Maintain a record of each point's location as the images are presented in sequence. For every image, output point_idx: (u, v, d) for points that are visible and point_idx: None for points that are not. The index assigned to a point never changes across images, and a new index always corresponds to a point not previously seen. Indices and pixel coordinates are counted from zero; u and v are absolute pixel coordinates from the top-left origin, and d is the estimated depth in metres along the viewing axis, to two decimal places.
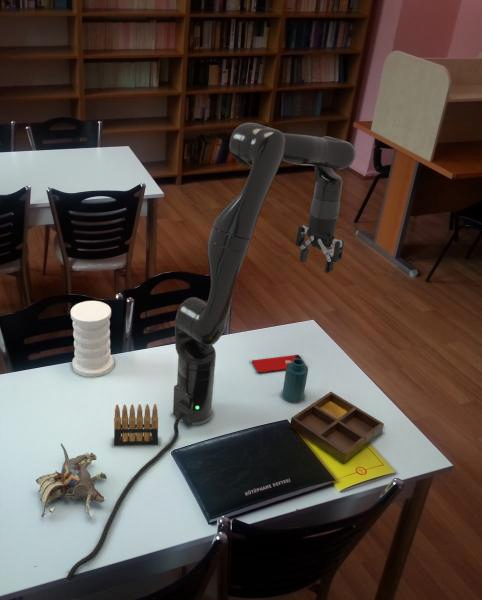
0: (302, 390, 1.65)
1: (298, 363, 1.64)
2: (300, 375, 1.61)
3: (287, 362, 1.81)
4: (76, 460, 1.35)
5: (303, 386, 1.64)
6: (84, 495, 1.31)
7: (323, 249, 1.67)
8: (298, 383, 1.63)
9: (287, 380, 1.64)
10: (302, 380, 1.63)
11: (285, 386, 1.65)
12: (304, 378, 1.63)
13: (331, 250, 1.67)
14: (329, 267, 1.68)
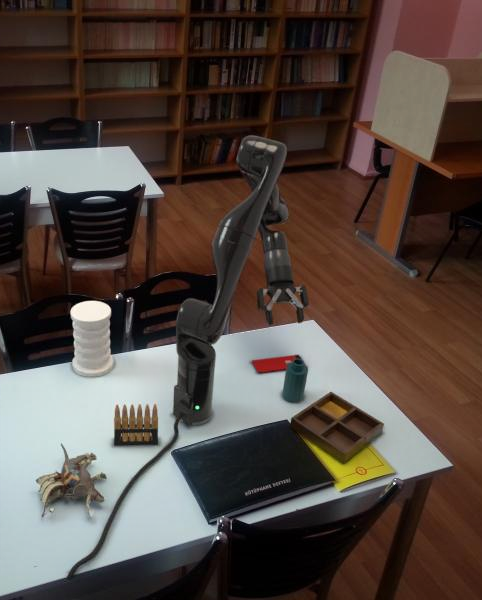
0: (302, 390, 1.65)
1: (298, 363, 1.64)
2: (300, 375, 1.61)
3: (287, 362, 1.81)
4: (76, 460, 1.35)
5: (303, 386, 1.64)
6: (84, 495, 1.31)
7: (293, 297, 1.71)
8: (298, 383, 1.63)
9: (287, 380, 1.64)
10: (302, 380, 1.63)
11: (285, 386, 1.65)
12: (304, 378, 1.63)
13: None
14: (302, 314, 1.71)
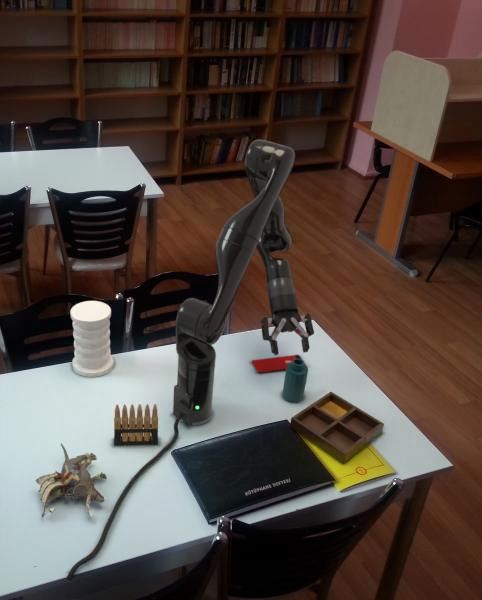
0: (302, 390, 1.65)
1: (298, 363, 1.64)
2: (300, 375, 1.61)
3: (287, 362, 1.81)
4: (76, 460, 1.35)
5: (303, 386, 1.64)
6: (84, 495, 1.31)
7: (298, 326, 1.68)
8: (298, 383, 1.63)
9: (287, 380, 1.64)
10: (302, 380, 1.63)
11: (285, 386, 1.65)
12: (304, 378, 1.63)
13: None
14: (307, 344, 1.68)
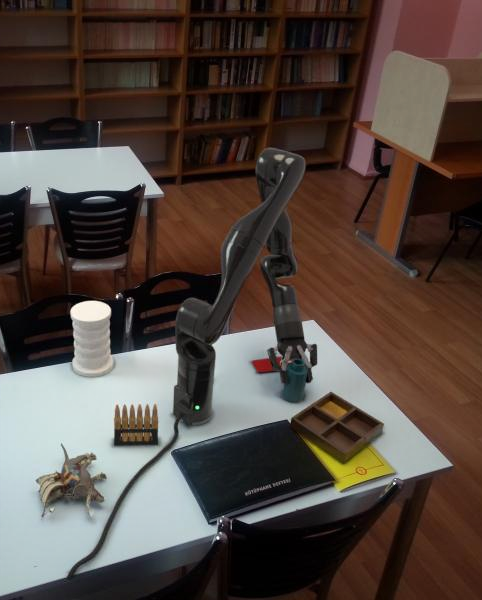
0: (302, 390, 1.65)
1: (298, 363, 1.64)
2: (300, 375, 1.61)
3: None
4: (76, 460, 1.35)
5: (303, 386, 1.64)
6: (84, 495, 1.31)
7: (303, 355, 1.65)
8: (298, 383, 1.63)
9: None
10: (302, 380, 1.63)
11: (285, 386, 1.65)
12: (304, 378, 1.63)
13: None
14: (311, 374, 1.65)
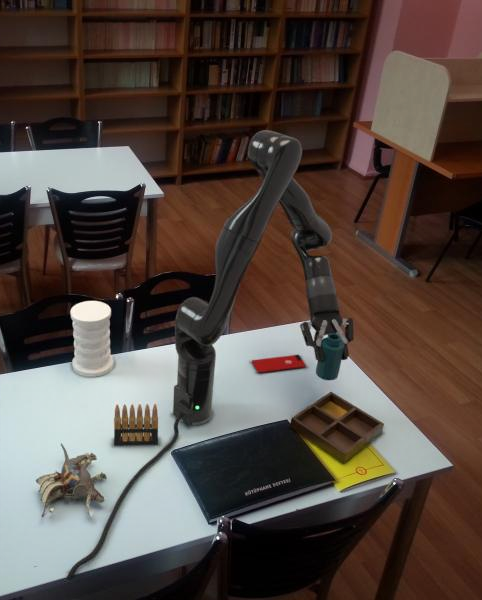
0: (338, 367, 1.55)
1: (333, 338, 1.54)
2: (336, 351, 1.52)
3: (287, 362, 1.81)
4: (76, 460, 1.35)
5: (339, 362, 1.54)
6: (84, 495, 1.31)
7: (339, 330, 1.55)
8: (334, 359, 1.53)
9: None
10: (338, 356, 1.53)
11: (319, 363, 1.55)
12: (340, 354, 1.53)
13: None
14: (347, 350, 1.55)
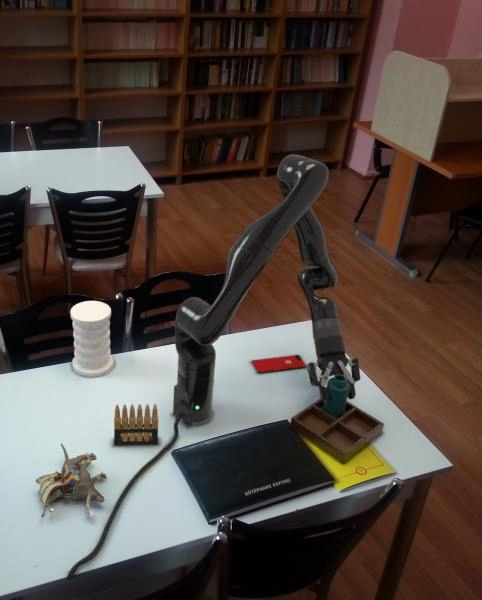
0: (343, 407, 1.58)
1: (339, 379, 1.58)
2: (342, 392, 1.55)
3: (287, 362, 1.81)
4: (76, 460, 1.35)
5: (345, 403, 1.58)
6: (84, 495, 1.31)
7: (345, 371, 1.58)
8: (340, 400, 1.56)
9: (329, 397, 1.57)
10: (344, 397, 1.56)
11: (326, 403, 1.59)
12: (346, 395, 1.56)
13: None
14: (354, 390, 1.59)
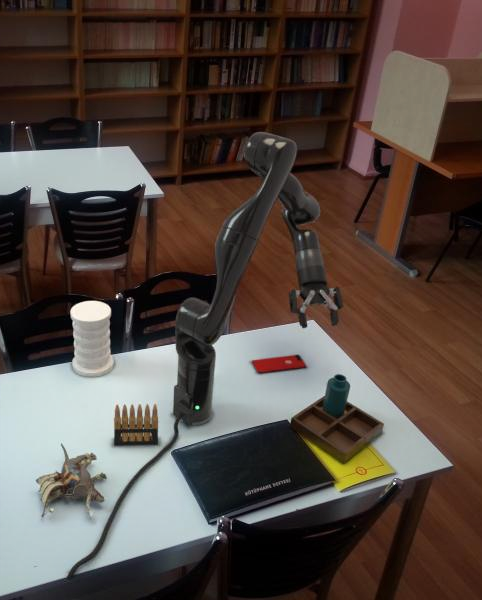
0: (343, 407, 1.58)
1: (339, 379, 1.58)
2: (342, 392, 1.55)
3: (287, 362, 1.81)
4: (76, 460, 1.35)
5: (345, 403, 1.58)
6: (84, 495, 1.31)
7: (327, 299, 1.63)
8: (340, 400, 1.56)
9: (329, 397, 1.57)
10: (344, 397, 1.56)
11: (326, 403, 1.59)
12: (346, 395, 1.56)
13: None
14: (337, 317, 1.63)
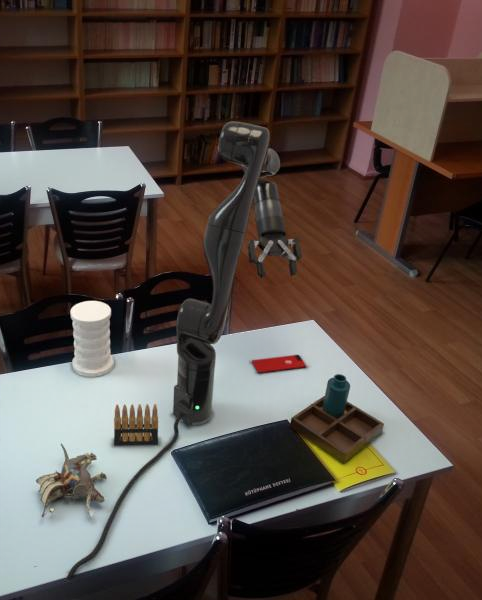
0: (343, 407, 1.58)
1: (339, 379, 1.58)
2: (342, 392, 1.55)
3: (287, 362, 1.81)
4: (76, 460, 1.35)
5: (345, 403, 1.58)
6: (84, 495, 1.31)
7: (286, 249, 1.64)
8: (340, 400, 1.56)
9: (329, 397, 1.57)
10: (344, 397, 1.56)
11: (326, 403, 1.59)
12: (346, 395, 1.56)
13: None
14: (295, 267, 1.64)
